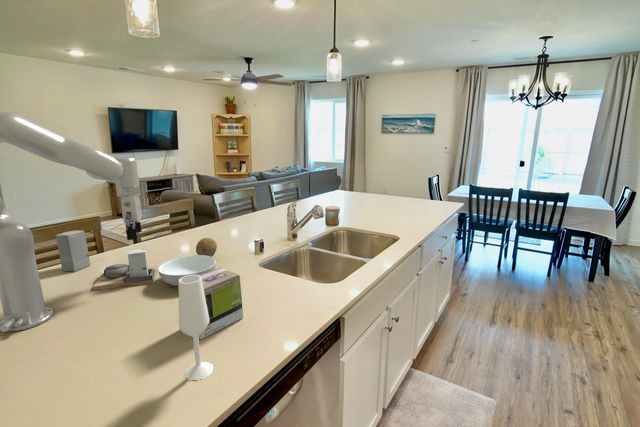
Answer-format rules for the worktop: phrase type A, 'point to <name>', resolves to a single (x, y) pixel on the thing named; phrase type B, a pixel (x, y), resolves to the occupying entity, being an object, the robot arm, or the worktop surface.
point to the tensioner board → (122, 277)
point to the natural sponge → (206, 247)
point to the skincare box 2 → (138, 263)
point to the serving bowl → (185, 267)
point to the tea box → (221, 299)
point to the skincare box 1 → (73, 250)
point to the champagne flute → (194, 321)
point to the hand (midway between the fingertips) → (134, 235)
